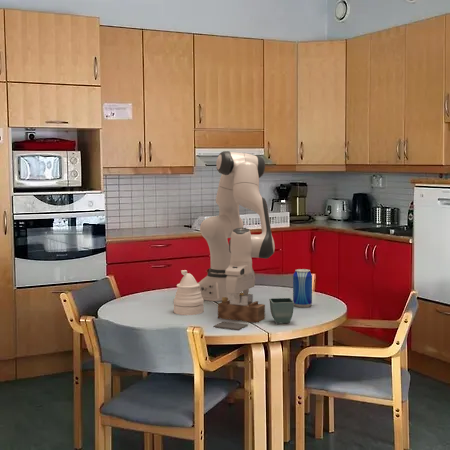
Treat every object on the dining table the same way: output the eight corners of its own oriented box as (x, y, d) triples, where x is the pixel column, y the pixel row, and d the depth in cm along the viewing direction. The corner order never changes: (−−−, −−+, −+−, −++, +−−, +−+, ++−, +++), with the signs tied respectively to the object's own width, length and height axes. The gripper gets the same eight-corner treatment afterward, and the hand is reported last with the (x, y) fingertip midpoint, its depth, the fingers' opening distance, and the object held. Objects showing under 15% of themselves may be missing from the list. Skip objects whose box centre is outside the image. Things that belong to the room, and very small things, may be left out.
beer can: (311, 308, 301) (311, 272, 299) (292, 307, 302) (292, 271, 301) (312, 304, 309) (312, 268, 307) (294, 303, 311) (294, 268, 309)
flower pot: (268, 319, 279) (269, 298, 279) (290, 319, 280) (290, 297, 279) (272, 325, 271) (272, 302, 270) (294, 324, 271) (294, 302, 271)
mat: (213, 327, 267) (213, 325, 267) (222, 322, 274) (222, 321, 274) (238, 330, 262) (238, 328, 262) (247, 325, 270) (247, 324, 269)
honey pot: (181, 316, 287) (180, 273, 285) (169, 310, 298) (168, 269, 296) (208, 313, 292) (208, 271, 291) (195, 307, 304) (195, 267, 302)
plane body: (217, 318, 283) (217, 299, 282) (225, 314, 289) (225, 295, 288) (257, 322, 275) (257, 302, 274) (264, 318, 281) (264, 299, 280)
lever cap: (229, 304, 281) (229, 293, 280) (235, 302, 285) (235, 291, 285) (247, 306, 277) (247, 295, 277) (252, 303, 282) (252, 292, 281)
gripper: (245, 264, 290) (245, 296, 292) (223, 271, 272) (223, 305, 274) (258, 265, 288) (258, 297, 289) (237, 272, 269) (237, 306, 271)
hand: (241, 301), depth 281 cm, fingers closed on lever cap, 5 cm apart
